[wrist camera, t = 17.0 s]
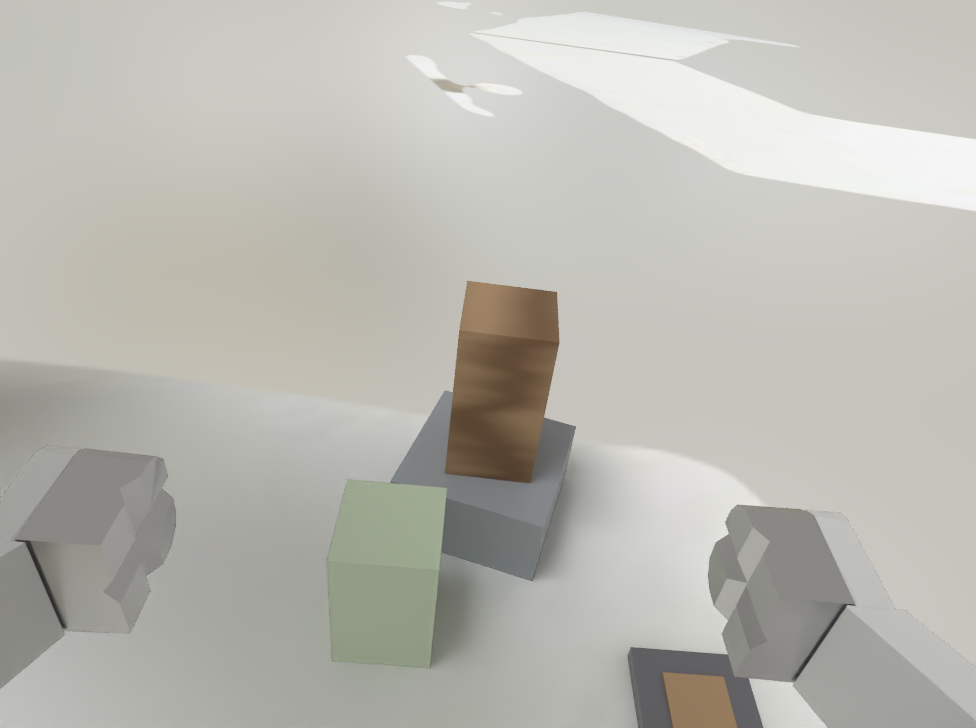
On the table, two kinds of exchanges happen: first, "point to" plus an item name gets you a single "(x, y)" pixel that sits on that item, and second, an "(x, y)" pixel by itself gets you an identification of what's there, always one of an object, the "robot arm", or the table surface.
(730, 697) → the card
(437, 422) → the slate base block
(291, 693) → the table surface
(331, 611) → the sage green block
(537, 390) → the walnut block
